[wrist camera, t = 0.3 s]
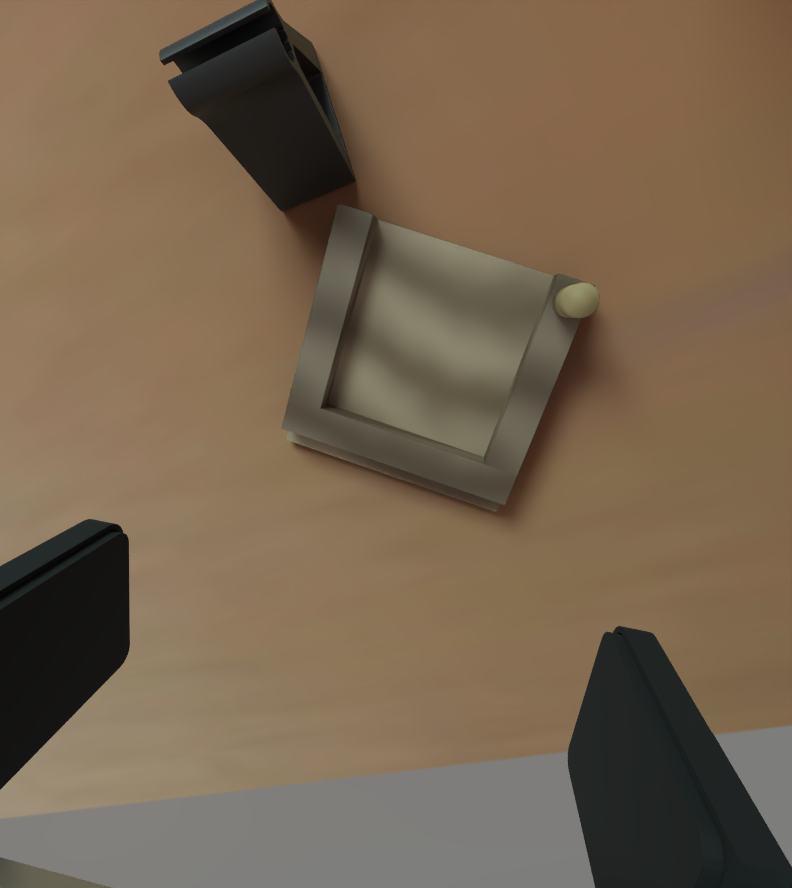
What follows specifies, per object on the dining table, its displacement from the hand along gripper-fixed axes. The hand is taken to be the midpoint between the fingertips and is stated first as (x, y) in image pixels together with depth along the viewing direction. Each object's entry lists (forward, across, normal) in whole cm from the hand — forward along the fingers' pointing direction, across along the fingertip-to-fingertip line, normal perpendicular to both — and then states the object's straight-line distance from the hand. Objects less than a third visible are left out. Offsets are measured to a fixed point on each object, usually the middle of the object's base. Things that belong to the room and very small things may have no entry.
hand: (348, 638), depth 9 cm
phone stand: (+31, +13, -17) cm, 37 cm away
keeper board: (+30, +1, -2) cm, 30 cm away
